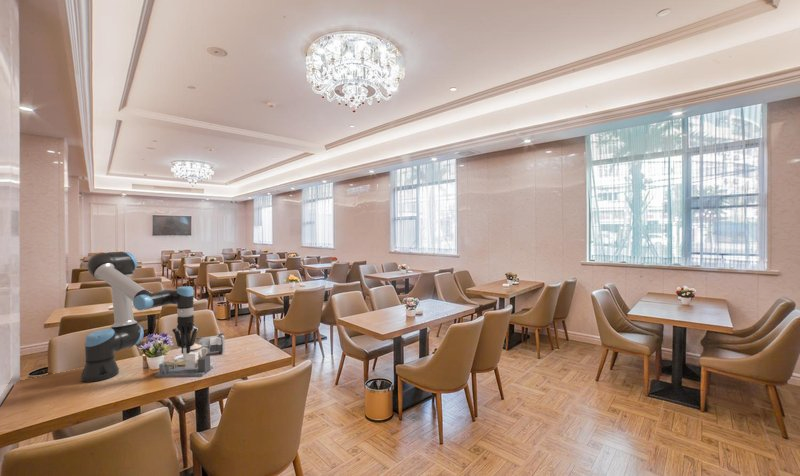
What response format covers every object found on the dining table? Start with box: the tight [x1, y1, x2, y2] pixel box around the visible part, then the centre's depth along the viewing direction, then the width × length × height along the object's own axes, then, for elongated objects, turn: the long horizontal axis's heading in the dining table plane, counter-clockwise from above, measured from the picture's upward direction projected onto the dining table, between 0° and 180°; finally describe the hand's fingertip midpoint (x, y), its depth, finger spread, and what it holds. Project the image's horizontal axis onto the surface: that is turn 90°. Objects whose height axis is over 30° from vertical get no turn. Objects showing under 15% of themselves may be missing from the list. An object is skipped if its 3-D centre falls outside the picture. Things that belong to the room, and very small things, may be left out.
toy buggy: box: [195, 332, 226, 355], centre depth 215 cm, size 18×10×12 cm, turn 129°
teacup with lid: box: [183, 342, 208, 362], centre depth 205 cm, size 12×9×12 cm
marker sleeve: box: [184, 352, 199, 368], centre depth 189 cm, size 5×4×8 cm
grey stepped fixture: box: [155, 355, 214, 378], centre depth 189 cm, size 24×11×8 cm, turn 92°
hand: (186, 359), depth 189 cm, fingers closed
